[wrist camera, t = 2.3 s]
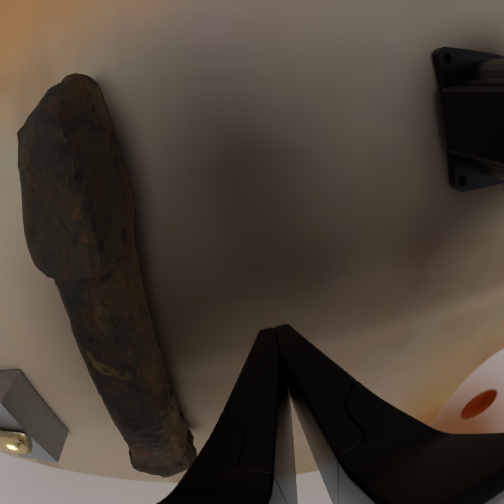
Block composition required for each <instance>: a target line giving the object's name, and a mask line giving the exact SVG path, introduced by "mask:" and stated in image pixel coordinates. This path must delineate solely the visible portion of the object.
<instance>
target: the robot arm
mask: <svg viewBox="0 0 504 504" xmlns="http://www.w3.org/2000/svg"><path fill="white" fill-rule="evenodd" d="M433 55H434V62H435V66H436V71H437V76H438V81H439V87H440V93H441V99H442V105H443V112H444V119H445V128H446V137H447V147H448V160H449V177H450V185H451V186H452V188H453V189H455V190H457V191H460V192H464V191H469V190H473V189H478V188H482V187H487V186H492V185H496V184H501V183H504V56H501V55H496V54H490V53H485V52H479V51H472V50H465V49H458V48H449V47H442V48H438V49H436V50H435V51H434V54H433ZM443 55H444V56H445V57H446V62H445V61H444V58H443ZM460 176H461V182H460V183H459V178H460ZM274 330H275V331H274ZM277 343H278V344H277ZM281 360H282V361H281ZM284 373H285V374H284ZM285 377H286V378H285ZM287 386H288V387H287ZM288 390H289V391H288ZM289 394H290V396H289ZM290 397H291V400H292V403H293V405H294V408H295V411H296V413H297V416H298V418H299V421H300V423H301V426H302V428H303V431H304V433H305V436H306V438H307V441H308V444H309V446H310V449H311V451H312V454H313V456H314V459H315V461H316V464H317V466H318V469H319V471H320V473H321V476H322V478H323V481H324V483H325V486H326V488H327V490H328V493H329V495H330V498H331V500H332V503H333V504H504V433H486V434H451V433H445V432H442V431H439V430H436V429H434V428H432V427H430V426H428V425H426V424H424V423H422V422H421V421H419V420H417V419H415V418H413V417H412V416H410V415H408V414H406V413H404V412H403V411H401V410H399V409H397V408H396V407H394V406H392V405H391V404H389V403H387V402H386V401H384V400H383V399H381V398H379V397H378V396H377V395H375V394H374V393H373V392H371V391H370V390H368V389H367V388H366V387H365V386H363V385H362V384H361V383H360V382H358V381H356V380H355V379H354V378H353V377H352V376H351V375H349V374H348V373H347V372H346V371H345V370H343V369H342V368H341V367H340V366H338V365H337V364H336V363H335V362H333V361H332V360H331V359H330V358H329V357H327V356H326V355H325V354H324V353H322V352H321V351H320V350H319V349H318V348H316V347H315V346H314V345H313V344H312V343H310V342H309V341H308V340H307V339H306V338H304V337H303V336H302V335H301V334H300V333H298V332H297V331H296V330H295V329H294V328H292V327H291V326H290V325H289V324H283V325H279V326H276V327H275V328H272V327H271V328H267V329H262V330H260V331H259V333H258V335H257V337H256V339H255V342H254V344H253V346H252V348H251V351H250V353H249V355H248V357H247V360H246V362H245V364H244V366H243V368H242V371H241V373H240V375H239V377H238V379H237V382H236V384H235V386H234V388H233V390H232V392H231V395H230V397H229V399H228V401H227V403H226V405H225V407H224V410H223V412H222V413H221V416H220V418H219V420H218V422H217V424H216V426H215V428H214V430H213V432H212V433H211V435H210V437H209V439H208V440H207V442H206V444H205V445H204V447H203V448H202V450H201V451H200V453H199V454H198V456H197V457H196V459H195V460H194V462H193V463H192V465H191V466H190V467H189V469H188V470H187V472H186V473H185V475H184V476H183V477H182V479H181V480H180V482H179V483H178V485H177V486H176V487H175V488H174V490H173V491H172V492H171V493H170V494H169V495H168V496H167V497H166V498H164V499H163V500H162V501H160V502H159V503H157V504H297V503H298V502H297V486H296V471H295V457H294V443H293V430H292V417H291V405H290Z"/></svg>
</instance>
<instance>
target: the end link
mask: <svg viewBox="0 0 504 504" xmlns="http://www.w3.org/2000/svg"><path fill="white" fill-rule="evenodd" d="M68 432H69V430H68V429H67V428H66V427H65V425H64V424H63V423H62V422H61V421H60V420H59V419H58V418H57V416H56V415H55V414H54V413H53V412H52V411H51V409H50V408H49V407H48V406H47V405H46V403H45V402H44V401H43V400H42V398H41V397H40V396H39V395H38V393H37V392H36V391H35V389H34V388H33V387H32V385H31V384H30V383H29V381H28V380H27V379H26V377H25V376H24V375H23V373H22V372H21V370H4V371H0V449H1V450H5V451H9V452H14V453H18V454H19V455H20V456H21V457H26V458H32V459H37V460H44V461H50V462H57V463H58V461H59V458H60V455H61V452H62V449H63V446H64V443H65V440H66V437H67V434H68Z"/></svg>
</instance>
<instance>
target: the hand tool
mask: <svg viewBox="0 0 504 504" xmlns="http://www.w3.org/2000/svg"><path fill="white" fill-rule="evenodd" d="M17 136H18V169H19V172H20V182H21V191H22V209H23V223H24V233H25V238H26V242H27V246H28V249H29V252H30V255H31V257H32V260H33V262H34V264H35V266H36V267H37V268H38V269H39V270H40V271H41V272H42V273H44V274H45V275H46V276H47V277H50V278H53V279H54V280H55V284H56V285H57V287H58V290H59V293H60V296H61V298H62V301H63V304H64V306H65V309H66V311H67V314H68V316H69V319H70V322H71V327H72V331H73V334H74V337H75V339H76V342H77V345H78V347H79V350H80V352H81V354H82V357H83V359H84V361H85V363H86V366H87V368H88V371H89V373H90V375H91V378H92V380H93V382H94V384H95V386H96V388H97V390H98V393H99V394H100V396H101V397H102V399H103V402H104V404H105V406H106V408H107V410H108V412H109V414H110V416H111V418H112V419H113V421H114V423H115V425H116V426H117V428H118V430H119V431H120V433H121V435H122V436H123V438H124V440H125V441H126V442H127V444H128V446H129V455H130V460H131V464H132V466H133V468H134V469H136V470H138V471H140V472H145V473H149V474H151V475H160V476H162V477H163V478H164V477H169V476H172V475H175V474H177V473H180V472H183V471H184V470H187V469H189V467H190V466H191V465H192V463H193V462H194V460H195V459H196V457H197V453H196V448H195V447H194V445H193V439H194V437H193V435H192V433H191V431H190V430H189V429H187V424H186V422H185V421H184V417H183V414H180V413H179V411H178V404H177V400H176V398H175V396H174V392H173V391H172V389H171V388H170V387H169V383H168V379H167V376H166V372H165V367H164V360H163V355H162V351H161V350H160V349H159V346H158V342H157V339H156V336H155V332H154V328H153V324H152V320H151V316H150V312H149V308H148V304H147V299H146V294H145V290H144V286H143V282H142V278H141V273H140V266H139V260H138V256H137V251H136V246H135V233H134V219H135V216H136V214H135V208H134V202H133V198H132V193H131V188H130V184H129V180H128V176H127V172H126V168H125V164H124V160H123V159H122V156H121V152H120V149H119V146H118V142H117V139H116V136H115V133H114V129H113V126H112V123H111V120H110V117H109V114H108V111H107V109H106V107H105V104H104V102H103V98H102V95H101V92H100V89H99V87H98V85H97V83H96V82H95V81H94V80H93V79H92V78H91V77H89V76H86V75H83V74H77V73H76V74H71V75H67V76H66V77H65V78H64V79H63V80H62V81H61V83H58V84H57V85H55V86H53V87H51V88H50V89H49V90H48V91H47V92H46V94H45V95H44V97H43V98H42V99H41V100H40V102H39V104H38V105H37V107H36V108H35V109H34V110H33V111H32V113H31V114H30V115H29V117H28V118H27V120H26V122H25V124H24V125H23V126H22V128H21V129H20V130H19V131H18V132H17Z"/></svg>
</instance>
